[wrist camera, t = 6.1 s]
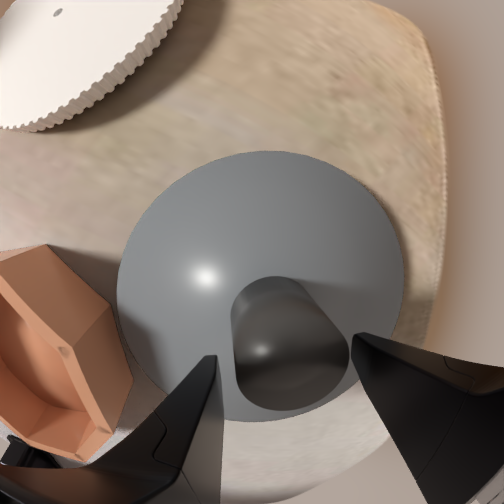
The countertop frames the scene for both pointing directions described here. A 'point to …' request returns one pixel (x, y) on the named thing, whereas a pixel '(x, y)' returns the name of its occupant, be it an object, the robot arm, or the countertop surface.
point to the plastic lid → (72, 54)
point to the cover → (260, 281)
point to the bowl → (58, 356)
